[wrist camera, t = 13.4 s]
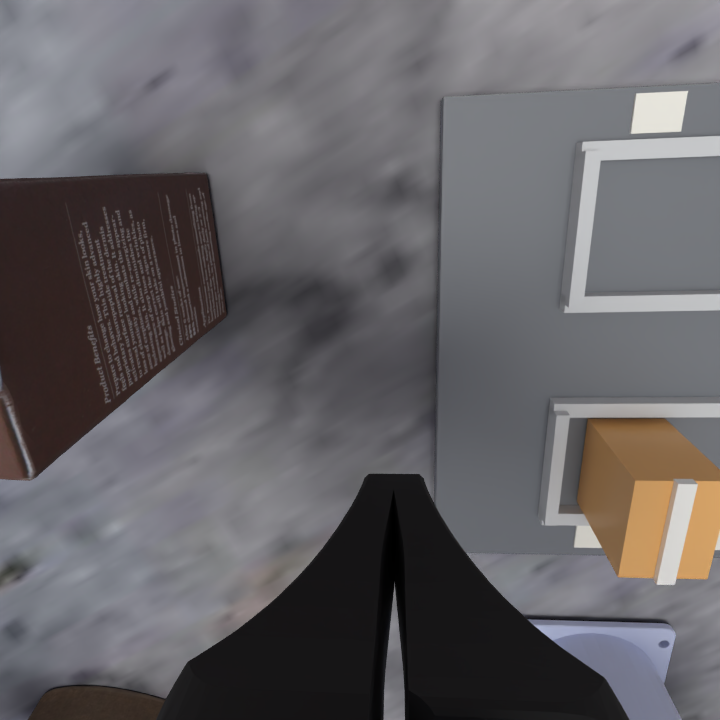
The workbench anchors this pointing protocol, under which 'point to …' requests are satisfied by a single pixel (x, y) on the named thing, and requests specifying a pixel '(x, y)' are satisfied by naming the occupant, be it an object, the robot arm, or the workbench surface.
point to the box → (96, 300)
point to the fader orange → (650, 499)
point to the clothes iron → (96, 704)
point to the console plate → (570, 297)
